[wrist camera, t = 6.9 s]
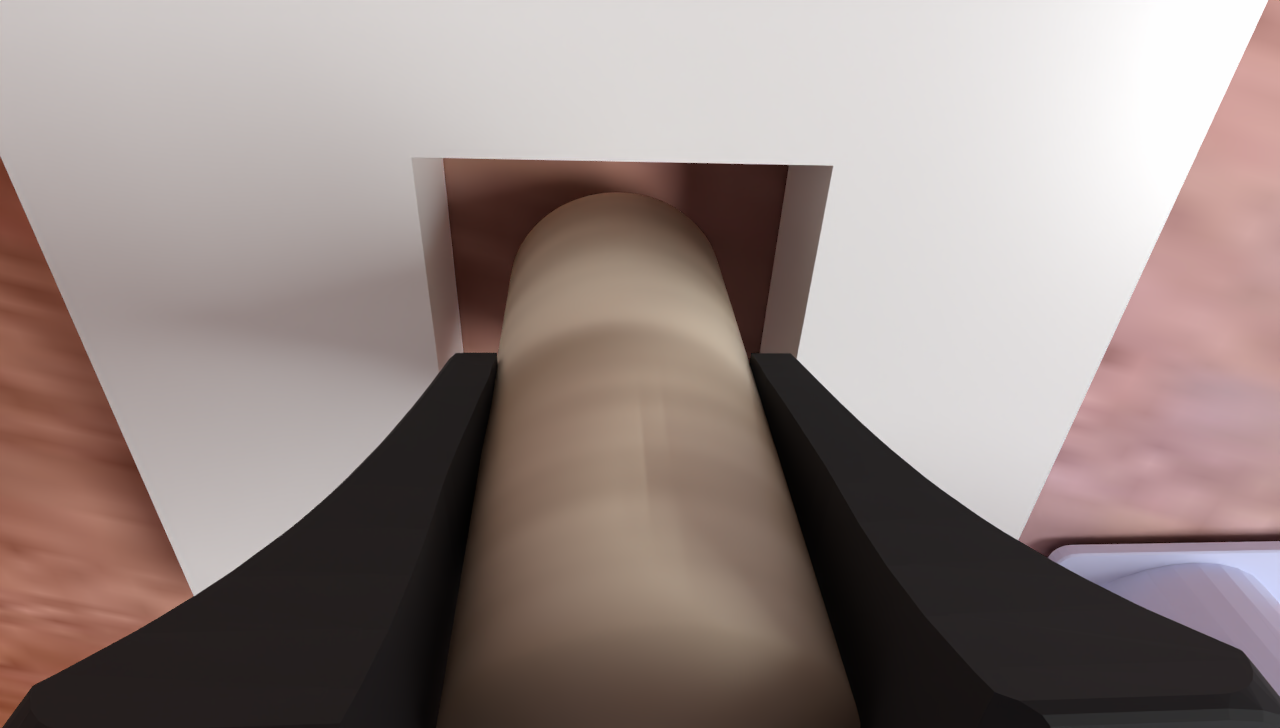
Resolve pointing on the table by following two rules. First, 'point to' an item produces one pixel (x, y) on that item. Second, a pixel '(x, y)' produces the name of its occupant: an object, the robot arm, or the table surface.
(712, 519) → the peg
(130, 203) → the socket
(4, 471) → the table surface
